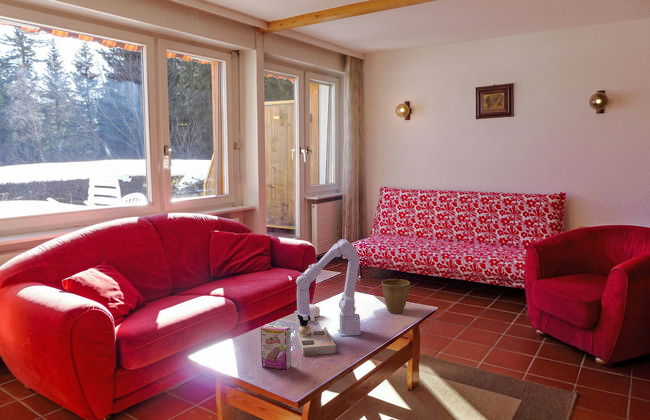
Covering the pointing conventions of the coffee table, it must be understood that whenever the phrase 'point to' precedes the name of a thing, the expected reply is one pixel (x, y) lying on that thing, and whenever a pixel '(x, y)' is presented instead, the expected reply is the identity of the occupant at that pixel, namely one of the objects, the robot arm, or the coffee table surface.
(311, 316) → the white animal figurine
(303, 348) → the trap board
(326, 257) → the robot arm
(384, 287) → the plant pot
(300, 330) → the beige rounded knob
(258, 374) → the coffee table surface
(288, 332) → the candy bar box
